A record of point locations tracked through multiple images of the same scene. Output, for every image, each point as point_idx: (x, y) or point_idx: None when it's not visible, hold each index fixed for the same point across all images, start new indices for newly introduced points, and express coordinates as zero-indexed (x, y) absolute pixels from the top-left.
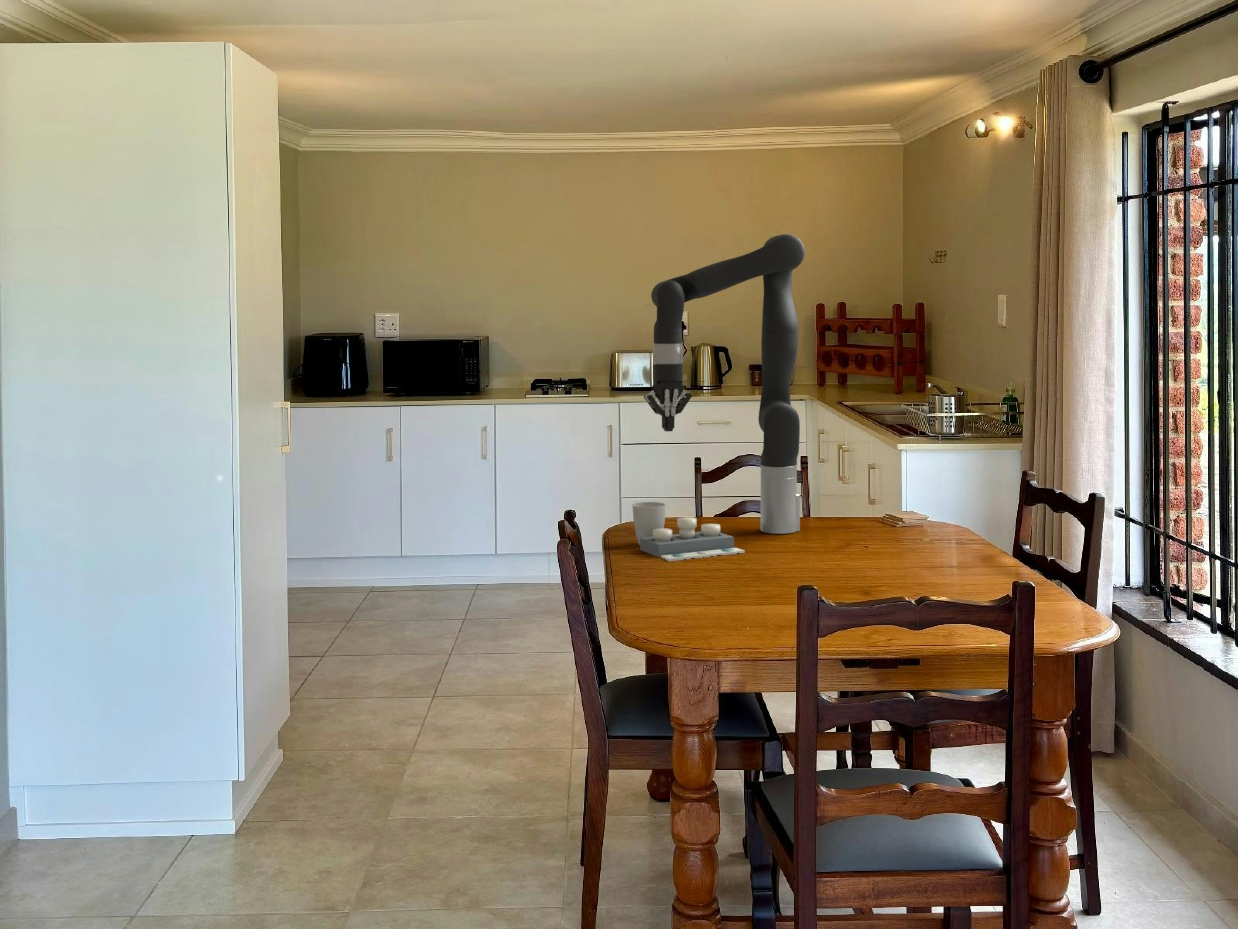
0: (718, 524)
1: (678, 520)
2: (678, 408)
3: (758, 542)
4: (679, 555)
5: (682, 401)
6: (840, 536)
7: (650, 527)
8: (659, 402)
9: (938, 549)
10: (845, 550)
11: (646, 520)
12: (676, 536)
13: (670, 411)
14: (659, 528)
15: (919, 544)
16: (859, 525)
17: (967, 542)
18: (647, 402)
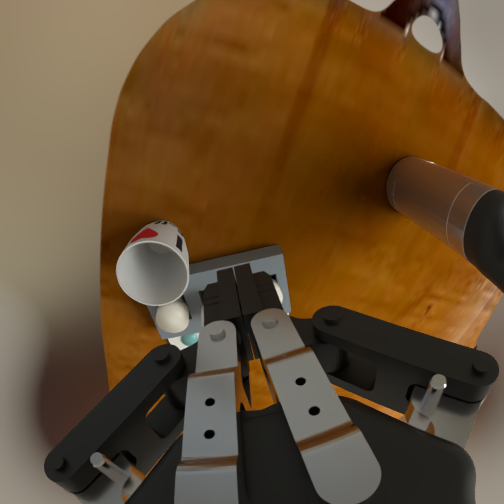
0: (281, 295)
1: (202, 323)
2: (332, 381)
3: (343, 260)
4: (190, 343)
5: (388, 401)
6: (446, 247)
7: (156, 280)
8: (189, 404)
9: (460, 326)
10: (401, 324)
11: (147, 287)
12: (201, 290)
13: (266, 377)
14: (168, 308)
15: (466, 304)
16: (494, 186)
17: (493, 301)
18: (79, 426)
